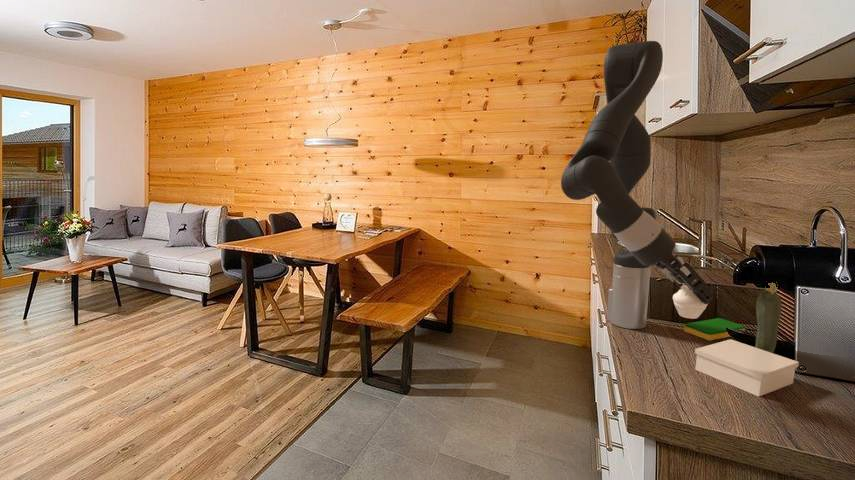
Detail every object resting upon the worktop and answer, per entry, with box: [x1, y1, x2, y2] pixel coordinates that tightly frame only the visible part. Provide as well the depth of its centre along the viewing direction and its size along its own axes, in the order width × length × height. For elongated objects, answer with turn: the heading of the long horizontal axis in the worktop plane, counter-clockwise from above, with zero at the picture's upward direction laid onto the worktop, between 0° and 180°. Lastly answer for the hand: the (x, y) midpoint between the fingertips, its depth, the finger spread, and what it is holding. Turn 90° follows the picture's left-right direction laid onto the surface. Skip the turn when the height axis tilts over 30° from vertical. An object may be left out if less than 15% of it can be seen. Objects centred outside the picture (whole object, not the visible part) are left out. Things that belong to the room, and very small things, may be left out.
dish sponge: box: [683, 317, 746, 341], centre depth 108 cm, size 7×14×2 cm, turn 110°
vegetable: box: [754, 282, 783, 354], centre depth 90 cm, size 4×4×20 cm
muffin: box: [672, 284, 709, 320], centre depth 81 cm, size 6×6×7 cm
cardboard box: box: [694, 338, 800, 397], centre depth 84 cm, size 13×13×5 cm
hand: (700, 295), depth 81 cm, fingers closed on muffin, 6 cm apart
